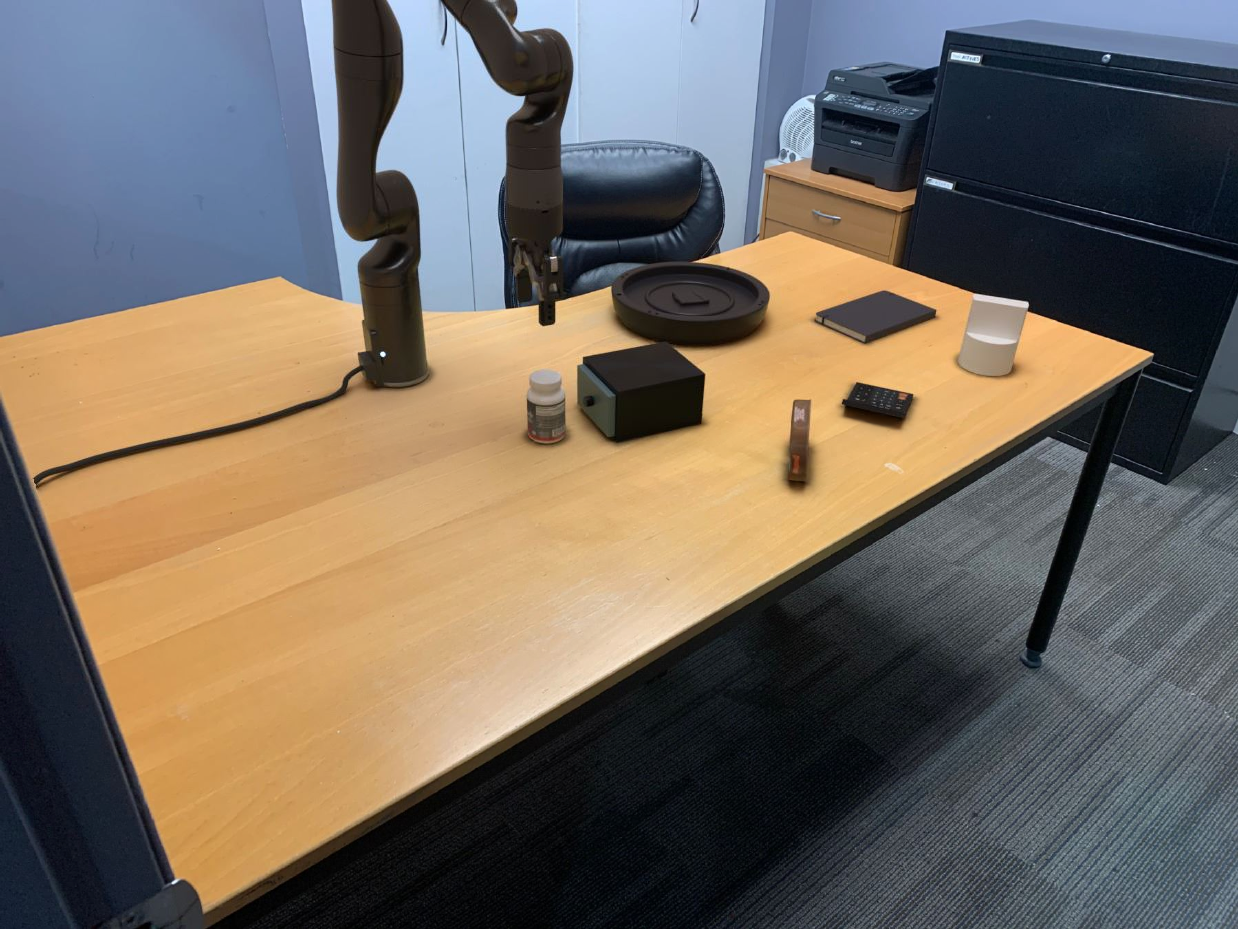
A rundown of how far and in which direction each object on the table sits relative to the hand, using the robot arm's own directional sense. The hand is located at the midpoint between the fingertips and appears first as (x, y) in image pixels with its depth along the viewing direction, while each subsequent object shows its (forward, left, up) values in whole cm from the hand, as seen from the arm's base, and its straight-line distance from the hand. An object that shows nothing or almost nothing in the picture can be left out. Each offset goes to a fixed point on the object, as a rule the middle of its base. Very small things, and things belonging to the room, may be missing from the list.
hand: (535, 312), depth 130 cm
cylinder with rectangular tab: (+81, -9, -20) cm, 84 cm away
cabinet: (+17, -1, -19) cm, 26 cm away
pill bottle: (+1, -1, -20) cm, 20 cm away
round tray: (+43, +30, -20) cm, 56 cm away
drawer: (+14, -1, -18) cm, 24 cm away
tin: (+31, -23, -20) cm, 43 cm away
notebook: (+76, +15, -20) cm, 80 cm away
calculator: (+53, -14, -20) cm, 58 cm away
